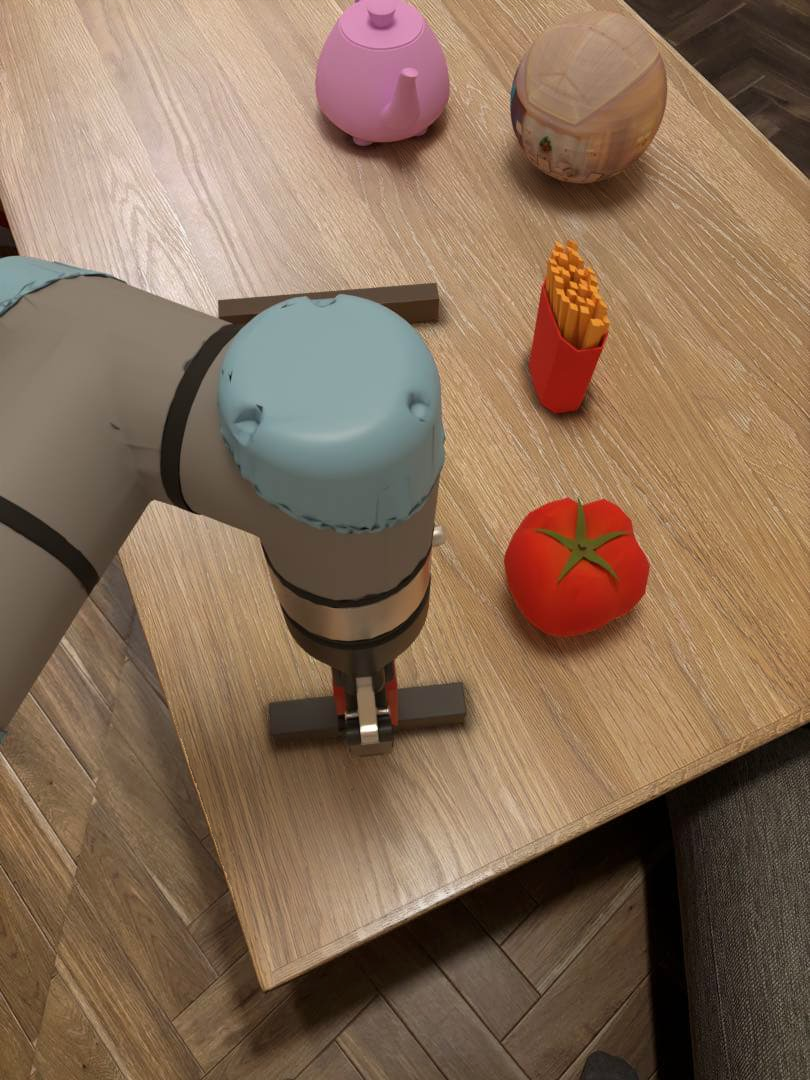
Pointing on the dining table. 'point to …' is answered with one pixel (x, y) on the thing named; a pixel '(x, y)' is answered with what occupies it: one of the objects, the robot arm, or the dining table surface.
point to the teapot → (382, 72)
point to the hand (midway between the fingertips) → (367, 709)
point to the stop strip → (403, 300)
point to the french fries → (567, 331)
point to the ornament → (588, 96)
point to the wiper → (405, 705)
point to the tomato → (575, 566)
